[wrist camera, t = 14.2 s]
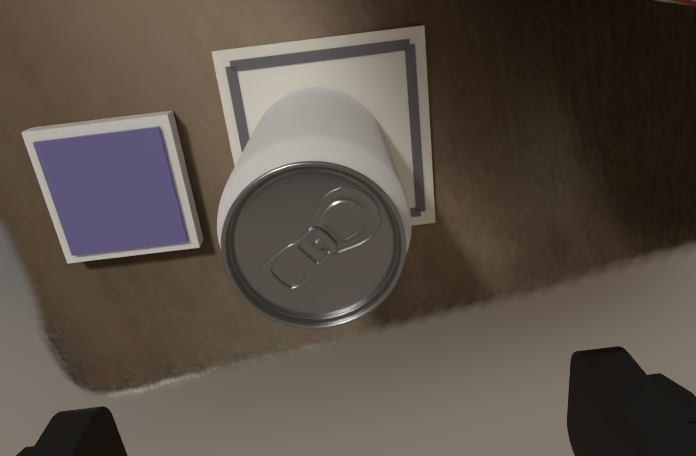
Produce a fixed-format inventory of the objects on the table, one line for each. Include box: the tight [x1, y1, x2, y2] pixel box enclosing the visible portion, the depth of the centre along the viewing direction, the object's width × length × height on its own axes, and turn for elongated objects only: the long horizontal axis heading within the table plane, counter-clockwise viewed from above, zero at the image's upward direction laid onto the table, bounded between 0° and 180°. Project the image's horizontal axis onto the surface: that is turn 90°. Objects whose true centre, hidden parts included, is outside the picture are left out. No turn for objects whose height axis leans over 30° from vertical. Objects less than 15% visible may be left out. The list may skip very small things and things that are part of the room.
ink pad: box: [21, 110, 204, 263], centre depth 28 cm, size 7×7×1 cm
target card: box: [212, 25, 435, 226], centre depth 28 cm, size 10×10×1 cm
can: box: [217, 86, 411, 330], centre depth 22 cm, size 6×6×12 cm
